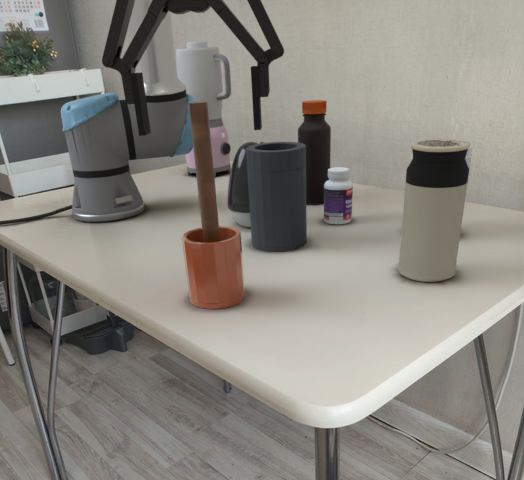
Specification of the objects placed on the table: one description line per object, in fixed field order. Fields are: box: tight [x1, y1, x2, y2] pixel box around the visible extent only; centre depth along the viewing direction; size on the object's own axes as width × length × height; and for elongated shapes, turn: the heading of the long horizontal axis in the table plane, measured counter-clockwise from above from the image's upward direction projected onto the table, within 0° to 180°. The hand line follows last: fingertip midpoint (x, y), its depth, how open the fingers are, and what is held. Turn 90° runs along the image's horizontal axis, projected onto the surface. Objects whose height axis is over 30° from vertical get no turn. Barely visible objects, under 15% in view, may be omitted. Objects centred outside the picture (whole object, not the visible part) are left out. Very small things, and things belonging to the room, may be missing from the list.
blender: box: [175, 40, 232, 178], centre depth 141 cm, size 16×12×32 cm
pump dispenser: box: [226, 141, 265, 229], centre depth 100 cm, size 10×10×15 cm
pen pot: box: [181, 225, 246, 310], centre depth 72 cm, size 8×8×9 cm
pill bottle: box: [323, 166, 354, 225], centre depth 101 cm, size 5×5×10 cm
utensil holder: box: [246, 141, 308, 253], centre depth 89 cm, size 10×10×16 cm
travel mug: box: [397, 138, 472, 283], centre depth 74 cm, size 8×8×18 cm
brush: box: [189, 101, 220, 243], centre depth 68 cm, size 4×4×24 cm
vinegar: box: [297, 99, 332, 205], centre depth 112 cm, size 7×7×20 cm
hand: (201, 131), depth 63 cm, fingers open, 13 cm apart
